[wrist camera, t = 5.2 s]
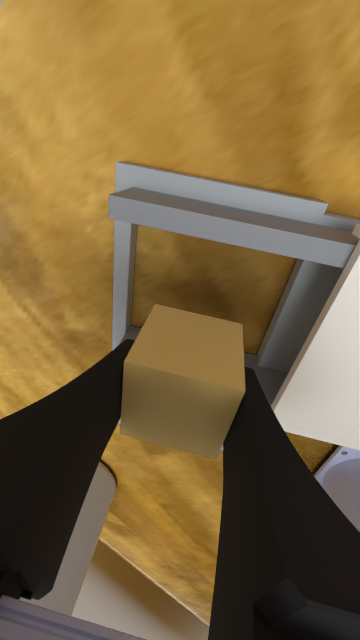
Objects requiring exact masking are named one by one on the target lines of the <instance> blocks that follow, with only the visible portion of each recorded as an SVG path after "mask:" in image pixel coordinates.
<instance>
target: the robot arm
mask: <svg viewBox="0 0 360 640" xmlns="http://www.w3.org/2000/svg"><path fill="white" fill-rule="evenodd" d="M134 342H135V340H132V339H128V338H127V339H126V340H124V341H123V342H122V343H121V344H119V345H118V346H117V347H116V348H115V349H114V350H112V351H111V352H110V353H109V354H108V355H106V356H105V357H104V358H103V359H101V360H100V361H99V362H97V363H96V364H95V365H93V366H92V367H91V368H89V369H88V370H87V371H85V372H84V373H82V374H81V375H80V376H78V377H77V378H75V379H74V380H72V381H71V382H69V383H68V384H66V385H65V386H63V387H61V388H60V389H58V390H56V391H55V392H53V393H51V394H50V395H48V396H46V397H44V398H43V399H41V400H39V401H37V402H35V403H33V404H31V405H29V406H27V407H26V408H24V409H22V410H20V411H18V412H15V413H13V414H11V415H9V416H7V417H4V418H2V419H0V640H146V639H143V638H140V637H136V636H133V635H130V634H127V633H123V632H120V631H117V630H114V629H111V628H107V627H104V626H101V625H97V624H95V623H91V622H88V621H85V620H82V619H78V618H75V617H72V616H69V615H66V614H62V613H59V612H56V611H53V610H50V609H46V608H43V607H40V606H37V605H34V604H30V603H27V602H24V601H21V600H19V599H20V597H21V598H25V599H28V600H31V599H35V600H40V599H41V598H43V597H44V596H46V595H47V594H48V593H49V592H50V591H52V589H53V586H54V583H55V581H56V578H57V575H58V572H59V569H60V566H61V563H62V561H63V558H64V555H65V552H66V549H67V546H68V543H69V541H70V538H71V535H72V532H73V530H74V527H75V524H76V522H77V519H78V516H79V513H80V511H81V508H82V505H83V503H84V500H85V497H86V495H87V492H88V490H89V487H90V484H91V482H92V479H93V477H94V474H95V472H96V469H97V467H98V464H99V461H100V459H101V456H102V454H103V452H104V450H105V448H106V446H107V444H108V442H109V440H110V438H111V436H112V434H113V432H114V430H115V428H116V426H117V424H118V422H119V420H120V418H121V406H122V388H123V371H124V361H125V359H126V357H127V355H128V353H129V351H130V349H131V348H132V346H133V344H134ZM244 369H245V394H244V396H243V398H242V400H241V403H240V405H239V407H238V410H237V412H236V414H235V417H234V419H233V421H232V424H231V426H230V428H229V431H228V433H227V435H226V438H225V440H224V442H223V498H222V511H221V523H220V534H219V545H218V555H217V565H216V575H215V585H214V593H213V602H212V611H211V619H210V628H209V635H208V640H360V450H356V449H352V448H348V447H344V446H340V445H339V447H338V448H337V449H336V450H335V451H334V452H333V454H332V455H331V456H330V457H329V458H328V459H327V461H326V462H325V463H324V464H323V465H322V466H321V467H320V469H319V470H318V471H317V472H316V473H315V474H314V476H313V474H312V473H311V471H310V470H309V469H308V467H307V466H306V464H305V463H304V461H303V460H302V458H301V457H300V456H299V454H298V453H297V451H296V449H295V448H294V446H293V445H292V443H291V441H290V440H289V438H288V436H287V435H286V433H285V431H284V430H283V428H282V426H281V424H280V423H279V421H278V419H277V417H276V415H275V413H274V411H273V409H272V407H271V406H270V404H269V402H268V400H267V398H266V395H265V393H264V391H263V389H262V387H261V385H260V382H259V380H258V378H257V376H256V373H255V371H254V369H253V368H249V367H244Z"/></svg>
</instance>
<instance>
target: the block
mask: <svg viewBox="0 0 360 640" xmlns="http://www.w3.org/2000/svg"><path fill="white" fill-rule="evenodd" d="M244 394H245V369H244V347H243V324H241V323H236V322H232V321H228V320H223V319H219V318H215V317H210V316H206V315H201V314H197V313H193V312H188V311H184V310H180V309H175V308H171V307H167V306H162V305H158V304H155V305H154V307H153V309H152V310H151V312H150V314H149V316H148V318H147V320H146V322H145V323H144V325H143V327H142V329H141V331H140V333H139V335H138V336H137V338H136V340H135V342H134V344H133V346H132V348H131V349H130V351H129V353H128V355H127V357H126V359H125V361H124V371H123V388H122V406H121V423H120V434H122V435H126V436H129V437H133V438H137V439H141V440H145V441H148V442H152V443H156V444H160V445H163V446H167V447H171V448H175V449H179V450H182V451H186V452H190V453H194V454H198V455H201V456H205V457H209V458H213V459H217V456H218V454H219V452H220V449H221V447H222V445H223V442H224V440H225V438H226V435H227V433H228V431H229V428H230V426H231V424H232V421H233V419H234V417H235V414H236V412H237V410H238V407H239V405H240V403H241V400H242V398H243V396H244Z"/></svg>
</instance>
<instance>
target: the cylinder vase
mask: <svg viewBox="0 0 360 640" xmlns="http://www.w3.org/2000/svg"><path fill="white" fill-rule="evenodd" d="M115 491H116V483H115V479H114V477H113V475H112V473H111V472H110V471H109V469H108V468H107V467H106V466H105V465H104V464H103V463H101V462H100V461H99V464H98V467H97V469H96V472H95V474H94V477H93V479H92V482H91V484H90V487H89V490H88V492H87V495H86V497H85V500H84V503H83V505H82V508H81V511H80V513H79V516H78V519H77V522H76V524H75V527H74V530H73V532H72V535H71V538H70V541H69V543H68V546H67V549H66V552H65V555H64V558H63V561H62V563H61V566H60V569H59V572H58V575H57V578H56V581H55V583H54V586H53V589H52V591H50V592H49V593H48V594H47V595H46V596H44V597H43V598H41V599H40V600H35V599H31V600H28V599H25V598H21V597H20V599H19V600H21V601H24V602H27V603H30V604H34V605H37V606H40V607H43V608H46V609H50V610H53V611H56V612H59V613H62V614H66V615H69V616H71V615H72V612H73V609H74V606H75V603H76V600H77V598H78V595H79V592H80V590H81V587H82V584H83V581H84V578H85V576H86V573H87V570H88V567H89V564H90V562H91V559H92V556H93V553H94V550H95V547H96V545H97V542H98V539H99V536H100V533H101V531H102V528H103V525H104V522H105V519H106V517H107V514H108V511H109V508H110V505H111V503H112V500H113V497H114V494H115Z"/></svg>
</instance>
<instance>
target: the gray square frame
mask: <svg viewBox="0 0 360 640" xmlns="http://www.w3.org/2000/svg"><path fill="white" fill-rule="evenodd" d="M327 206H328V204H327V203H325V202H323V201H321V200H316V199H311V198H306V197H301V196H296V195H291V194H285V193H280V192H275V191H270V190H265V189H260V188H255V187H250V186H245V185H240V184H235V183H230V182H225V181H220V180H214V179H209V178H204V177H199V176H194V175H189V174H184V173H179V172H174V171H169V170H164V169H159V168H154V167H149V166H143V165H138V164H133V163H128V162H116V184H115V193H113V194H110V195H109V219H114V220H115V232H114V279H113V327H112V350H114V349H115V348H116V347H117V346H118V345H119V344H121V343H122V342H123V341H124V340H126V339H127V338H128V339H132V340H136V338H137V336H138V335H139V333H140V331H141V329H142V328H140V327H136V326H131V311H132V296H133V281H134V266H135V251H136V236H137V225H142V226H147V227H151V228H156V229H161V230H166V231H170V232H175V233H180V234H184V235H189V236H194V237H199V238H203V239H208V240H213V241H217V242H222V243H227V244H232V245H236V246H241V247H246V248H250V249H255V250H260V251H265V252H269V253H274V254H279V255H283V256H288V257H293V258H297V261H296V263H295V266H294V268H293V270H292V273H291V275H290V277H289V280H288V282H287V285H286V287H285V289H284V292H283V294H282V297H281V299H280V301H279V304H278V306H277V308H276V311H275V313H274V316H273V318H272V320H271V323H270V325H269V327H268V330H267V332H266V335H265V337H264V339H263V342H262V344H261V347H260V349H259V351H258V354H257V355H254V354H249V353H245V352H244V367H249V368H253V369H254V371H255V373H256V376H257V378H258V380H259V382H260V385H261V387H262V389H263V391H264V393H265V395H266V398H267V400H268V402H269V404H270V406H271V405H272V403H273V401H274V399H275V397H276V396H277V394H278V392H279V390H280V388H281V386H282V384H283V382H284V381H285V379H286V377H287V375H288V373H289V371H290V369H291V367H292V366H293V364H294V362H295V360H296V358H297V356H298V354H299V352H300V351H301V349H302V347H303V345H304V343H305V341H306V339H307V337H308V336H309V334H310V332H311V330H312V328H313V326H314V324H315V322H316V321H317V319H318V317H319V315H320V313H321V311H322V309H323V307H324V306H325V304H326V302H327V300H328V298H329V296H330V294H331V292H332V291H333V289H334V287H335V285H336V283H337V281H338V279H339V277H340V276H341V274H342V272H343V270H344V268H345V266H346V264H347V262H348V261H349V259H350V257H351V255H352V253H353V251H354V249H355V247H356V246H357V244H358V242H359V240H360V239H359V238H358V237H356V236H355V235H353V234H352V232H353V230H354V228H355V226H356V224H360V219H358V218H353V217H348V216H343V215H338V214H333V213H328V212H325V211H326V208H327ZM118 423H121V418H120V420H119V422H118ZM220 450H223V445H222V447H221V449H220Z"/></svg>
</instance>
